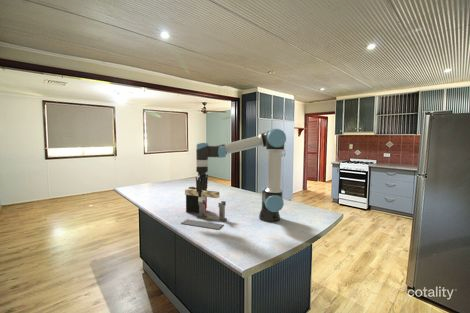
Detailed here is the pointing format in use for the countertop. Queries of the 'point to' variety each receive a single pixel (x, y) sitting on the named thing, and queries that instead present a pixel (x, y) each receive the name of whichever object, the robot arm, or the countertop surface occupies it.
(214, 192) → the rail
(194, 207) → the red coffee machine
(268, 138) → the robot arm
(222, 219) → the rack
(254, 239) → the countertop surface
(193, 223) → the mat
